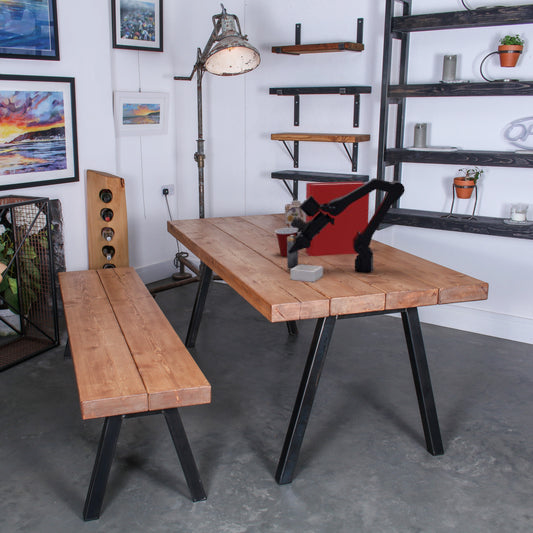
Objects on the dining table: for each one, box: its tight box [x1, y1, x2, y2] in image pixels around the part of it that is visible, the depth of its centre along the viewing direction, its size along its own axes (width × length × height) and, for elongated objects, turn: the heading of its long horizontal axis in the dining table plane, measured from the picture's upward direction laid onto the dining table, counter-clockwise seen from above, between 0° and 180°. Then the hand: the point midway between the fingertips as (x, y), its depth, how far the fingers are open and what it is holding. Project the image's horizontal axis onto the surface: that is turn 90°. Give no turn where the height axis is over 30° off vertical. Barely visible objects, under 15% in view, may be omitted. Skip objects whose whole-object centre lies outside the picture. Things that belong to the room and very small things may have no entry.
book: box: [305, 180, 370, 257], centre depth 279 cm, size 27×8×32 cm, turn 103°
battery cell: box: [286, 235, 299, 270], centre depth 250 cm, size 4×4×13 cm
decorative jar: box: [284, 200, 306, 233], centre depth 323 cm, size 12×12×18 cm
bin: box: [290, 263, 324, 283], centre depth 240 cm, size 10×10×4 cm
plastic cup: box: [274, 227, 298, 258], centre depth 276 cm, size 11×11×12 cm
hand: (289, 251), depth 250 cm, fingers closed on battery cell, 4 cm apart
